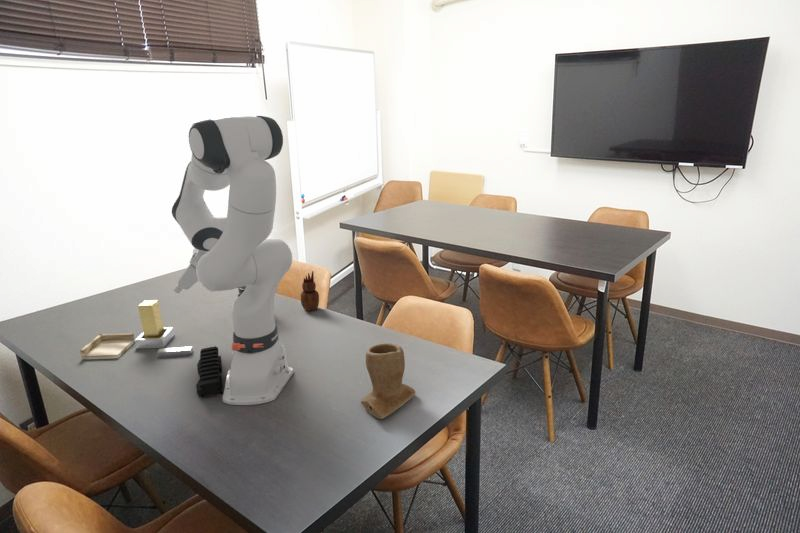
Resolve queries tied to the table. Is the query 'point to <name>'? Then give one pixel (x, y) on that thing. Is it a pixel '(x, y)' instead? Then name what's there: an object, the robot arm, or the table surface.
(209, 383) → the rail mount
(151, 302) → the yellow wooden block
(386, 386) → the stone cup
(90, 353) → the rack plate
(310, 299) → the wooden figurine
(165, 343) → the socket collar
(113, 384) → the table surface
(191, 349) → the gray rectangular bar
